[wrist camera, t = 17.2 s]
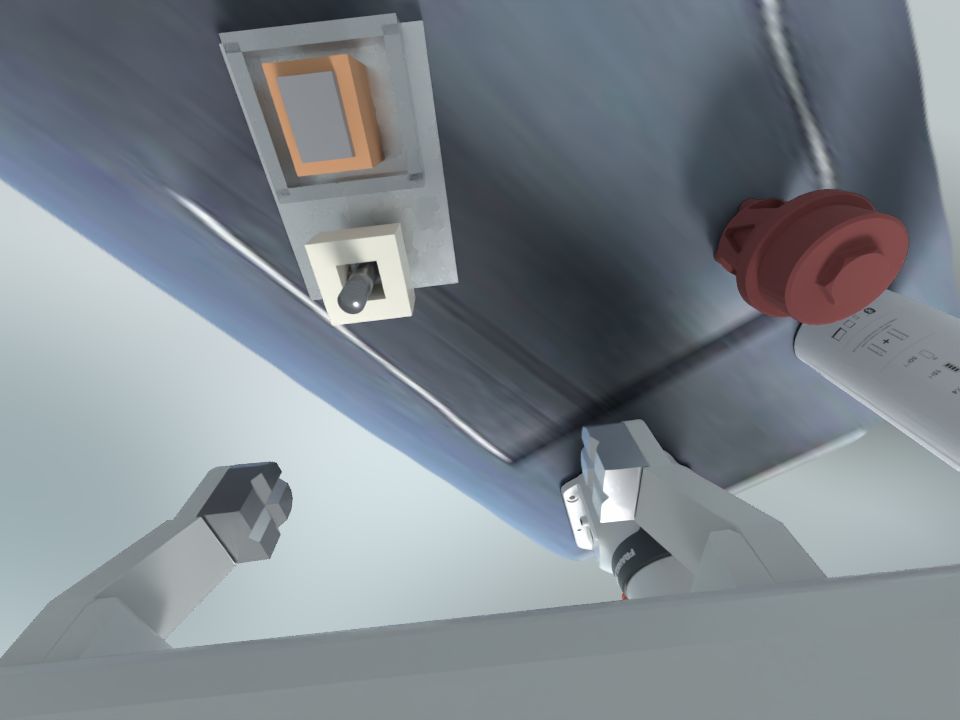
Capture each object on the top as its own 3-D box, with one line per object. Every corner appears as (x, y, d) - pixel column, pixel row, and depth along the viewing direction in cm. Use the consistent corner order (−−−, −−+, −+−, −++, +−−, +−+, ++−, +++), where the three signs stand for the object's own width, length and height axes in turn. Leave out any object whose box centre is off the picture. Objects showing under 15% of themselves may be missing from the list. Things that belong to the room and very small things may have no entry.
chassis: (458, 278, 38) (461, 335, 28) (315, 295, 38) (268, 358, 28) (423, 23, 27) (409, -29, 18) (227, 46, 27) (103, 7, 18)
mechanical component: (692, 295, 40) (692, 197, 35) (791, 265, 39) (806, 161, 34) (777, 357, 30) (794, 232, 25) (914, 319, 29) (963, 180, 24)
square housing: (415, 297, 34) (412, 315, 31) (342, 306, 34) (332, 325, 31) (400, 222, 30) (394, 234, 27) (318, 232, 30) (304, 245, 27)
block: (365, 65, 28) (343, 51, 22) (385, 159, 31) (370, 169, 25) (295, 73, 27) (253, 61, 22) (322, 166, 31) (292, 178, 25)
